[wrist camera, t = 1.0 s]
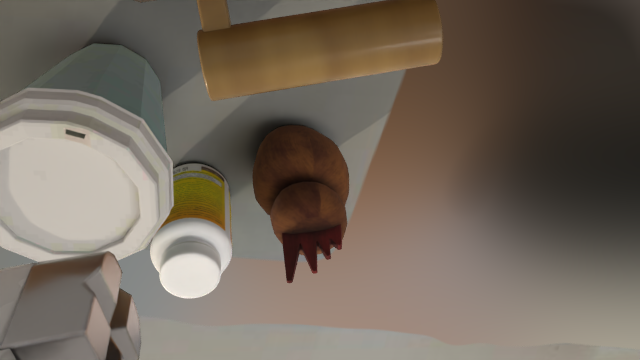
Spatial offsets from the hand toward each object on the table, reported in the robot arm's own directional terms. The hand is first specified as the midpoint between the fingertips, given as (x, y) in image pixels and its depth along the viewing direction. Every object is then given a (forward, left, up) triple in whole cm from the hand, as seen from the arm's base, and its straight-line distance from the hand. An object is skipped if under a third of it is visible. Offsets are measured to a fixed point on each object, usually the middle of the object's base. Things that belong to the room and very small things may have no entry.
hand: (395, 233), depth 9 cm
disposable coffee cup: (+14, -8, -34) cm, 38 cm away
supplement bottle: (+22, -1, -34) cm, 40 cm away
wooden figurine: (+17, +6, -34) cm, 38 cm away
